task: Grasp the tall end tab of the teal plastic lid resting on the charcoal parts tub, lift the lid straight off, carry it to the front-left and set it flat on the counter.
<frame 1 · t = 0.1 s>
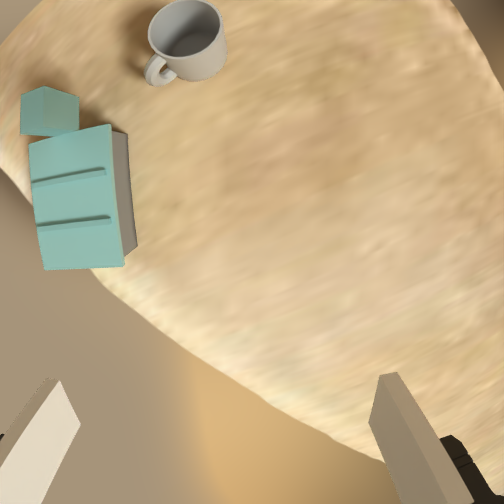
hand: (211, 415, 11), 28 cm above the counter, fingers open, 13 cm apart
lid: (73, 201, 30), point 6 cm above the counter, touching tub
tub: (96, 194, 36), on the counter
cup: (189, 64, 32), on the counter
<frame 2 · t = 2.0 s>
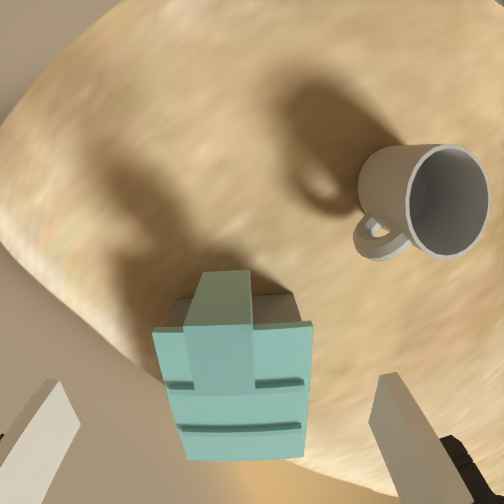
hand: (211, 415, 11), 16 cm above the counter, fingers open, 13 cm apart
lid: (239, 403, 23), point 6 cm above the counter, touching tub
tub: (240, 361, 29), on the counter
cup: (381, 197, 25), on the counter
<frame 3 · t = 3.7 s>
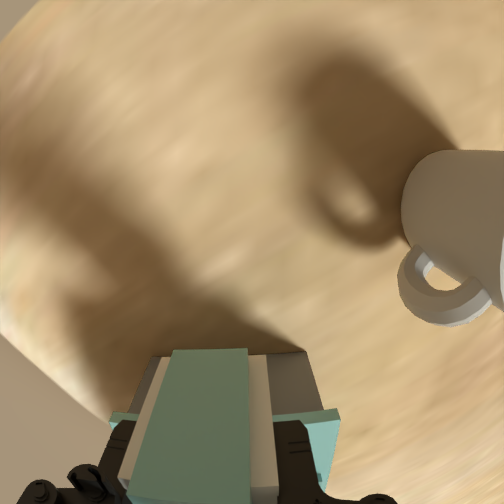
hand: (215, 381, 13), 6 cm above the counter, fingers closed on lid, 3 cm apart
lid: (234, 491, 15), point 6 cm above the counter, touching gripper, tub
tub: (236, 428, 21), on the counter
cup: (429, 221, 17), on the counter
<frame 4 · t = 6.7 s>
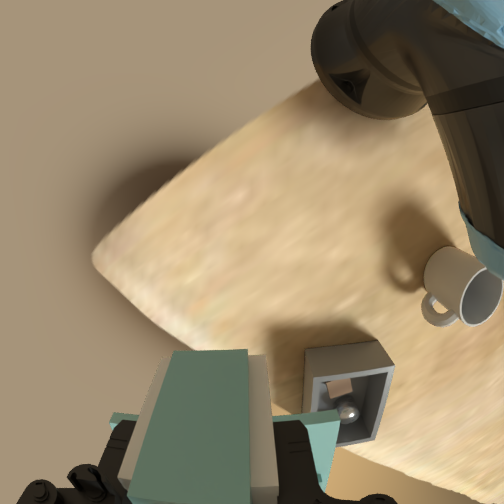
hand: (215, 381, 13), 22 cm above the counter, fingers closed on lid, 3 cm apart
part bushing: (343, 403, 40), point 1 cm above the counter, touching tub
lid: (234, 491, 15), point 23 cm above the counter, touching gripper
part block: (334, 373, 38), point 1 cm above the counter, touching tub
tub: (337, 385, 40), on the counter
cup: (435, 278, 36), on the counter
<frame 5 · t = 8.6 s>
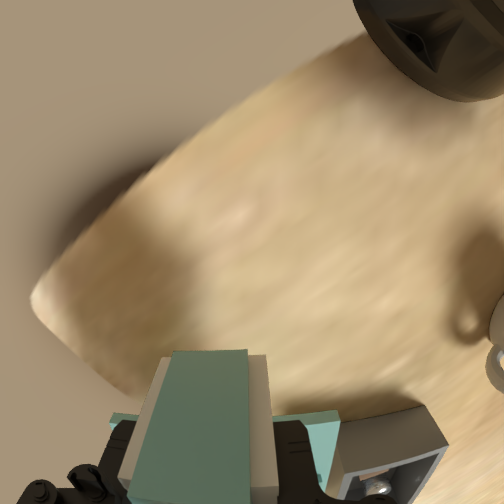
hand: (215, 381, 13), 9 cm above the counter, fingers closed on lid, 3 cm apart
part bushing: (372, 473, 27), point 1 cm above the counter, touching tub
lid: (234, 492, 15), point 9 cm above the counter, touching gripper
part block: (366, 448, 25), point 1 cm above the counter, touching tub
tub: (367, 456, 27), on the counter
cup: (501, 323, 23), on the counter
when the fingers open (1 cm above the counter, at t = 10.0 s): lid drops 2 cm, on the counter.
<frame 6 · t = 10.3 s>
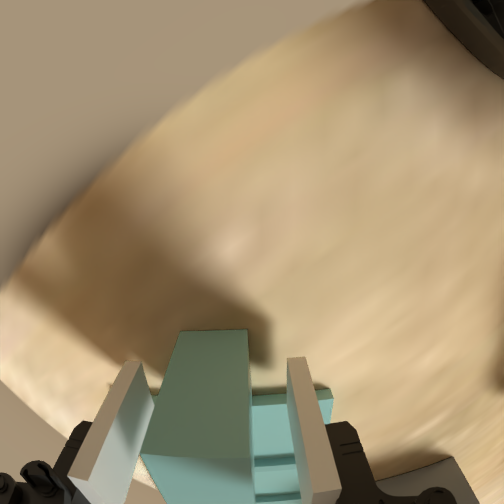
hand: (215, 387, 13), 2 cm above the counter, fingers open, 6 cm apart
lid: (235, 473, 17), on the counter
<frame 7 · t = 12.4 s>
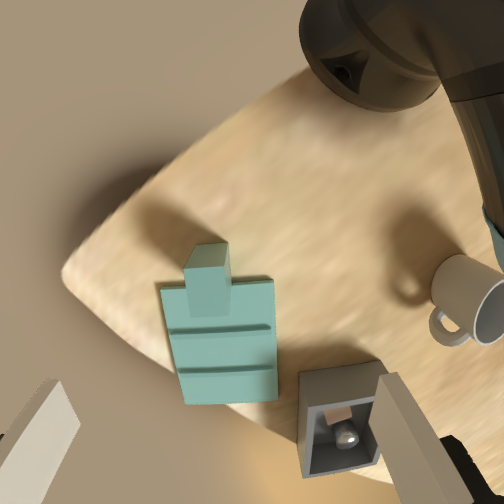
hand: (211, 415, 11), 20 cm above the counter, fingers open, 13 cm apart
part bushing: (342, 426, 35), point 1 cm above the counter, touching tub
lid: (224, 348, 32), on the counter
part block: (332, 397, 34), point 1 cm above the counter, touching tub
tub: (336, 408, 35), on the counter
cup: (444, 290, 32), on the counter
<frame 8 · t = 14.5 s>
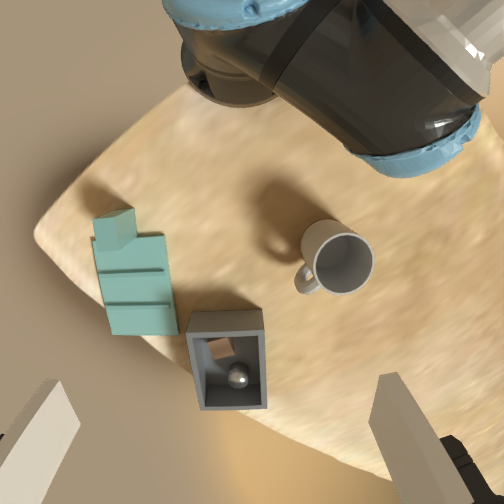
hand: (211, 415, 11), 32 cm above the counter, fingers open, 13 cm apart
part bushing: (238, 369, 46), point 1 cm above the counter, touching tub
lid: (136, 287, 43), on the counter
part block: (222, 337, 45), point 1 cm above the counter, touching tub
tub: (230, 351, 46), on the counter
cup: (317, 251, 42), on the counter
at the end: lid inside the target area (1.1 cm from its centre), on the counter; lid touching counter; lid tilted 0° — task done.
